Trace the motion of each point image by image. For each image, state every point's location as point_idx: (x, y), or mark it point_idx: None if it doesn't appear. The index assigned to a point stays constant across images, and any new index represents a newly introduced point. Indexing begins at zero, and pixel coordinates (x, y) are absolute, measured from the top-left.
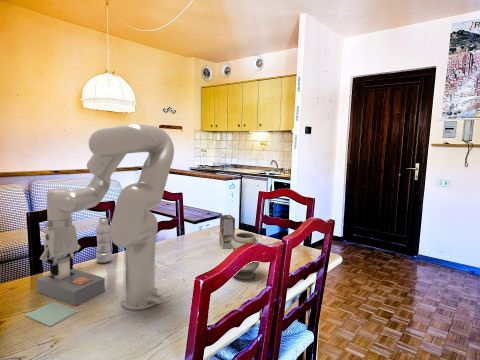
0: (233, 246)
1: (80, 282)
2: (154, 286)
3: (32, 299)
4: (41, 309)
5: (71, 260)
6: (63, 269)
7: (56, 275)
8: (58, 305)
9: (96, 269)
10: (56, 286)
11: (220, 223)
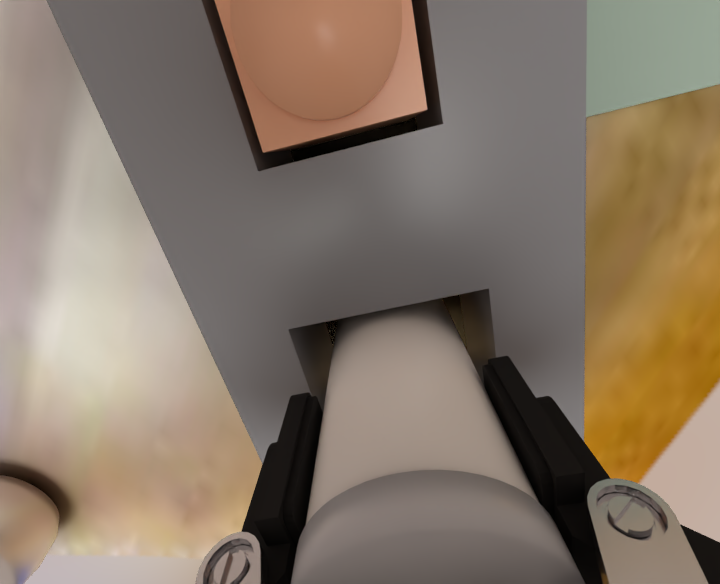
0: None
1: None
2: None
3: (610, 300)
4: (715, 43)
5: (279, 503)
6: (436, 383)
7: (506, 356)
8: None
9: (98, 432)
10: (579, 171)
11: None
